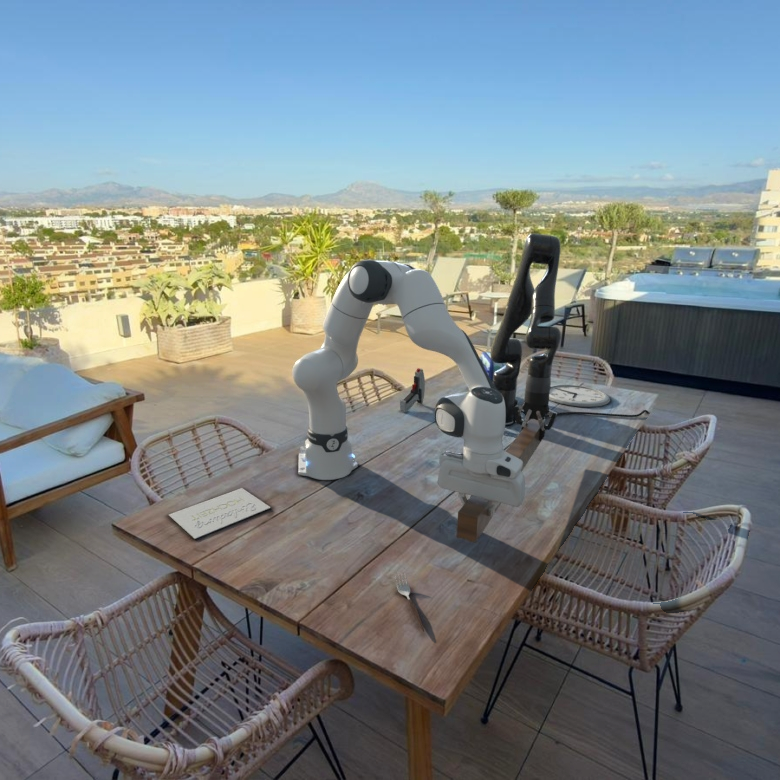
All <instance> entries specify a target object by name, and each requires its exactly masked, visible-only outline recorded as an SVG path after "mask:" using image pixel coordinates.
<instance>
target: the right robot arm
mask: <svg viewBox="0 0 780 780" xmlns="http://www.w3.org/2000/svg"><path fill="white" fill-rule="evenodd" d="M561 248H562V247H561V240H560V238H559V237H558V236H554V235H549V234H540V233H530V234H529V235H528V236H527V237H526V239H525V241H524V244H523V247H522V253H521V256H520V260H519V265H518V268H517V272H516V276H515V279H514V282H513V285H512V287H511V291H510V294H509V295H508V296H509V297H508V300H507V303H506V306H505V308H504V309H505V310H504V313H503V316H502V319H501V322H500V324H499V326H498V329H497V332H496V333H495V335H494V338H493V340H492V344H491V347H490V351H489V352H490V355H491V359H492V361H493V362H495V363H506V364H505V366H503V367H502V368H501V369H499V370H496V371H495V372H494V374H493V384H494V386H495V387H496V388H497V390H498V391H499V392H500V393H501V394H502V395H503V398H504V401H505V408H506V421H505V426H511V425H513V424H516V425H520V426H521V430H520V432H521V431H522V430H523V428H524V427H525V426H526V424H527V423H528V422H529V421H530V419H535V420H538V422H539V424H540V428H541V429H540V434H539V441H541V440H542V441H543V440H544V438H545V436H546V430H547V431H550V430H551V429H552V427H553V425H554V422H555V421H556V418H557V416H561V415H593V416H606V417H607V416H608V417H621V418H622V417H623V418H637V417H640V416H642V415H643V414H644V413H645V414H650V412H649V411H648V410H647V409H643V410H641V411H640V413H638V414H621V413H605V412H590V411H563V412H558V411H557V410H554V411H553V410H551V409H550V407H549V402H550V400H549V395H550V389H551V386H552V385H551V384H552V379H551V377H552V370H553V369H552V368H553V362H554V359H555V357H556V354H557V351H558V349H559V347H560V345H561V341H562V332H561V330H560V328H558V327H557V326H552V325H551V326H548V325H541V324H547V323H550V322H552V321H553V320H554V319H555V315H556V298H555V297H556V286H557V280H558V279H557V278H558V272H559V265H560V258H561ZM532 264H538V265H545V266H546V271H545V274H544V276H543V277H542V278H541V279H540V281H539V283H538V284H537V285H536V287H534V284H533V281H532V277H531V266H532ZM529 318H530V321H529V323H528V327H527V330H526V333H525V336H524V337H525V338H524V342H525V345H526V346H527V347H528V348H529V349H534V350H545V351H544V352H543V353H541V354H535V355H531V357H530V358H529V360H528V367H527V368H528V369H527V376H526V379H525V388H524V400H523V404H520V405H519V404H518V399H517V388H518V378H519V375H520V372H521V371H520V370H521V364H522V357H523V346H522V342H521V341H520V340H519V339H518V338H512V336H513V334H514V333H515V332H516V331H517V330H518V329H520V328H521V327H522V326H523V325H524V324H525V323H526V322H527V321H528V320H529ZM521 413H522V414H523V415H524V418H522V414H521ZM546 418H550V419H549V421H548V423H546V424H545V419H546ZM542 441H541V442H542Z"/></svg>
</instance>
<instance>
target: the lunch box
mask: <svg viewBox="0 0 780 780" xmlns="http://www.w3.org/2000/svg"><path fill="white" fill-rule="evenodd" d="M490 352H491V351H482V352H481V354H480V360H481V362H482V364H483V366H484V367H485V369H486V371H487V373H488V375H489V377H490V379H491V381H492V383H493V374H494V372H495V371H496V370H499V369H501V368H502V367H503V366H505V364H506V363H495V362H493V361H492V359H491V355H490Z"/></svg>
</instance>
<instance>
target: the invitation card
mask: <svg viewBox="0 0 780 780" xmlns="http://www.w3.org/2000/svg"><path fill="white" fill-rule="evenodd" d="M269 509H271V506H270V505H268V504H267V503H265V502H264V501H262V500H261V499H259V498H258V497H256V496H255V495H253V494H252V493H250V492H249V491H247V490H246V489H244V488H243V487H239V488H238V489H234V490H233V491H229V492H227V493H224V494H221V495H219V496H216V497H213V498H210V499H207V500H204V501H202V502H199V503H196V504H194V505H191V506H187V507H186V508H182V509H180V510H177V511H174V512H172V513H169V514H168V516H169V517H170V519H172V520H173V522H175V523H176V524H177V525H178V526H179V527H181V528H182V529H183V530H184V532H186V533H187V534H188V535H190V537H191V538H193V539H194V540H196V539H199V538H201V537H204V536H207V535H208V534H211V533H214V532H216V531H218V530H220V529H223V528H225V527H228V526H231V525H233V524H235V523H239V522H240V521H243V520H246V519H247V518H250V517H252V516H254V515H257V514H260V513H263V512H265V511H267V510H269Z"/></svg>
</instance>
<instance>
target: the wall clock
mask: <svg viewBox="0 0 780 780" xmlns="http://www.w3.org/2000/svg"><path fill="white" fill-rule="evenodd" d="M549 401H551V402H553V403H557V404H560V405H567V406H571V407H578V408H579V407H580V408H594V407H595V408H596V407H602V406H606V405H608V404H609V403H610V402H611V398H610V396H609V395H608V394H606V393H605V392H603V391H602V390H598V389H595V388H593V387H588V386H585V385H584V386H583V385H576V384H555V385H551V389H550V395H549Z"/></svg>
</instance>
